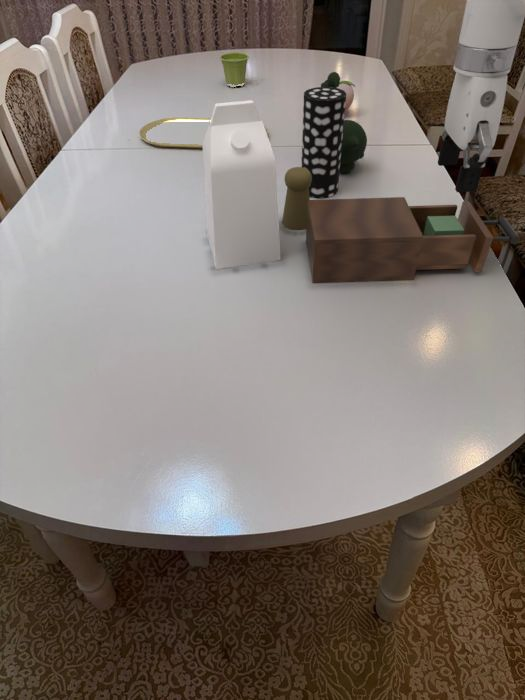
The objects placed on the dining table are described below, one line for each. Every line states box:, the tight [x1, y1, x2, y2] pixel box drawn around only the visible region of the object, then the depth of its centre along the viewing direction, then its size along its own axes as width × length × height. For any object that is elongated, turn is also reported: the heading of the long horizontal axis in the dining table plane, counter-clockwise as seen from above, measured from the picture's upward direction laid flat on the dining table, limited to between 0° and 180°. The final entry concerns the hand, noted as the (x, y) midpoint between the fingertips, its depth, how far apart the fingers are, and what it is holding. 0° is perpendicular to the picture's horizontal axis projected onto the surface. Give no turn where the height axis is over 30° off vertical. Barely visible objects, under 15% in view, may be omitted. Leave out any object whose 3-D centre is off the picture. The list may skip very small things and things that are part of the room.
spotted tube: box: [300, 86, 346, 199], centre depth 104 cm, size 8×8×20 cm
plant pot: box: [219, 52, 250, 89], centre depth 164 cm, size 9×9×9 cm
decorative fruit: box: [337, 80, 356, 112], centre depth 141 cm, size 9×8×10 cm
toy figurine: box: [320, 71, 368, 174], centre depth 116 cm, size 9×19×25 cm
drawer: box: [408, 200, 521, 273], centre depth 88 cm, size 23×12×7 cm, turn 91°
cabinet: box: [305, 196, 423, 284], centre depth 88 cm, size 18×14×9 cm
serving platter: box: [138, 116, 269, 149], centre depth 134 cm, size 19×35×2 cm, turn 82°
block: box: [423, 215, 464, 236], centre depth 88 cm, size 5×5×5 cm
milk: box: [202, 99, 281, 270], centre depth 86 cm, size 12×12×26 cm
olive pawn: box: [281, 166, 312, 231], centre depth 97 cm, size 6×6×11 cm
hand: (455, 177), depth 80 cm, fingers open, 9 cm apart
